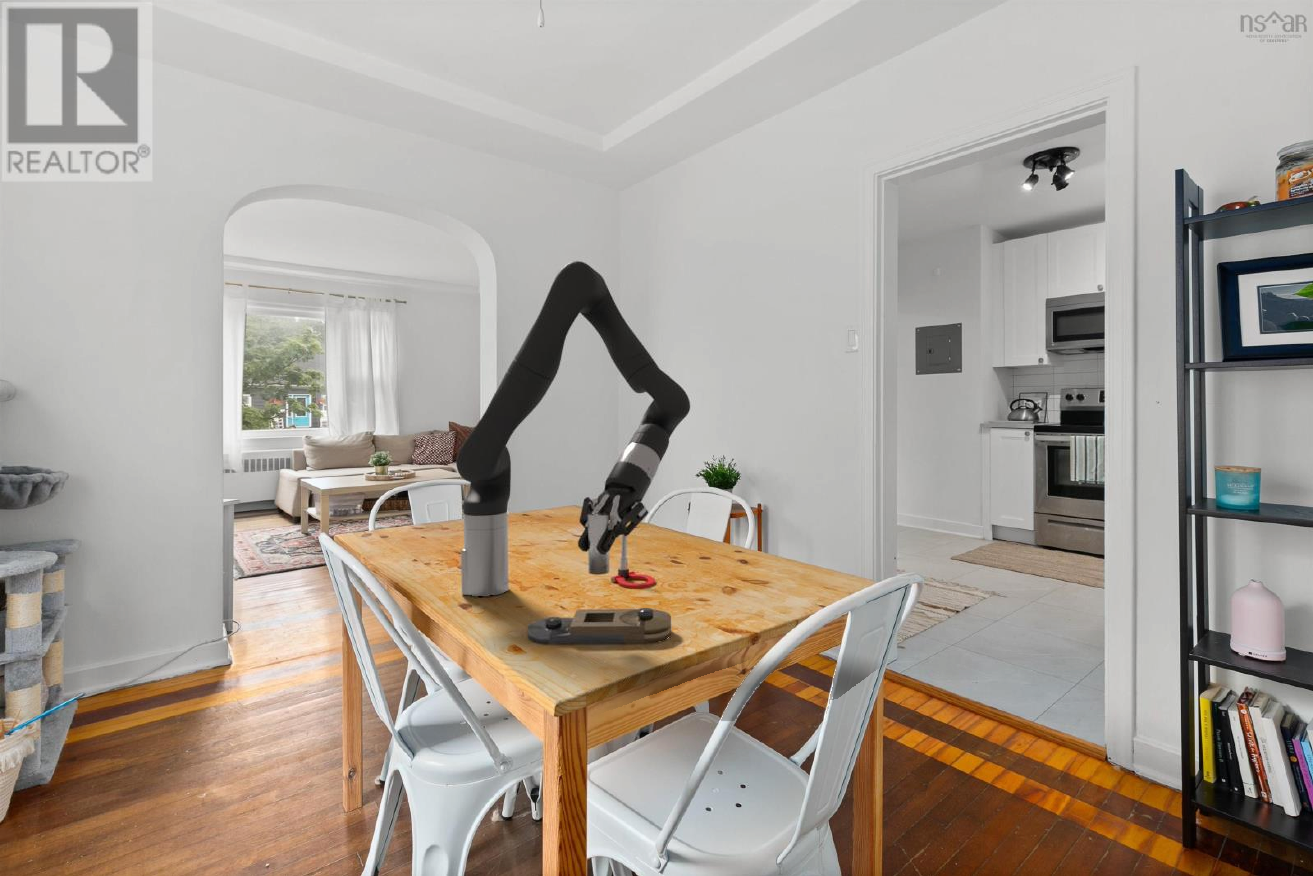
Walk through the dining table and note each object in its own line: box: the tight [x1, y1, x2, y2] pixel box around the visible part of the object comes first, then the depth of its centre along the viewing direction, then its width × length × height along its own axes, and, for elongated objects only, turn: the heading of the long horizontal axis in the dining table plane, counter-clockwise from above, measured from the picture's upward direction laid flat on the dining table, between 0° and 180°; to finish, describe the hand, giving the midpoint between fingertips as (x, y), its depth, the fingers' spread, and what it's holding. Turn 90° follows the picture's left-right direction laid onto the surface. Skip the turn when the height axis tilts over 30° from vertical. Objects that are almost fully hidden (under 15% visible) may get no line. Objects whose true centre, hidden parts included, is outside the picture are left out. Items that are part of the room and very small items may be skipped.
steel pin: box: [587, 513, 610, 576], centre depth 109 cm, size 4×4×10 cm
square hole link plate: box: [526, 607, 672, 645], centre depth 109 cm, size 25×9×4 cm, turn 90°
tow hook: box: [610, 535, 656, 589], centre depth 142 cm, size 8×13×9 cm
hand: (591, 550), depth 107 cm, fingers closed on steel pin, 3 cm apart
